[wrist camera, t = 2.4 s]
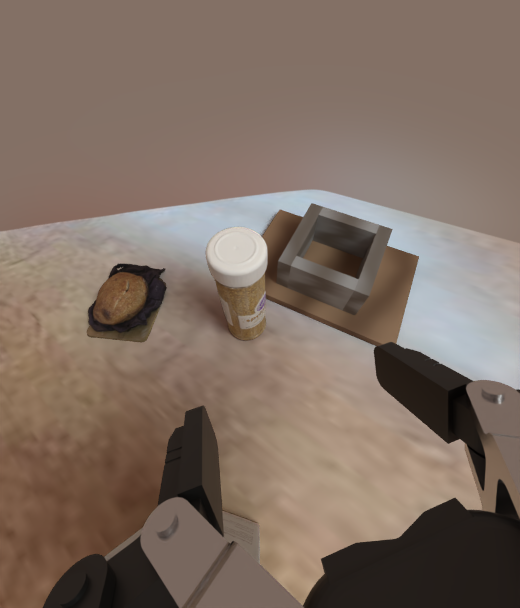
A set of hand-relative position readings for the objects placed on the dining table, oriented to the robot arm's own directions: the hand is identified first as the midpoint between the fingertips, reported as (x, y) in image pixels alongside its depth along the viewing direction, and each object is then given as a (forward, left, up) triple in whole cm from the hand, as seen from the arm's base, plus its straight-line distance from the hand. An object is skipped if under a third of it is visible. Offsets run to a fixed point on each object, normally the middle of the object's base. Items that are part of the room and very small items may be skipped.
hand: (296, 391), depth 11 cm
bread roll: (-22, +4, -17) cm, 28 cm away
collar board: (-2, +19, -16) cm, 24 cm away
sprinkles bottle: (-8, +8, -16) cm, 19 cm away
